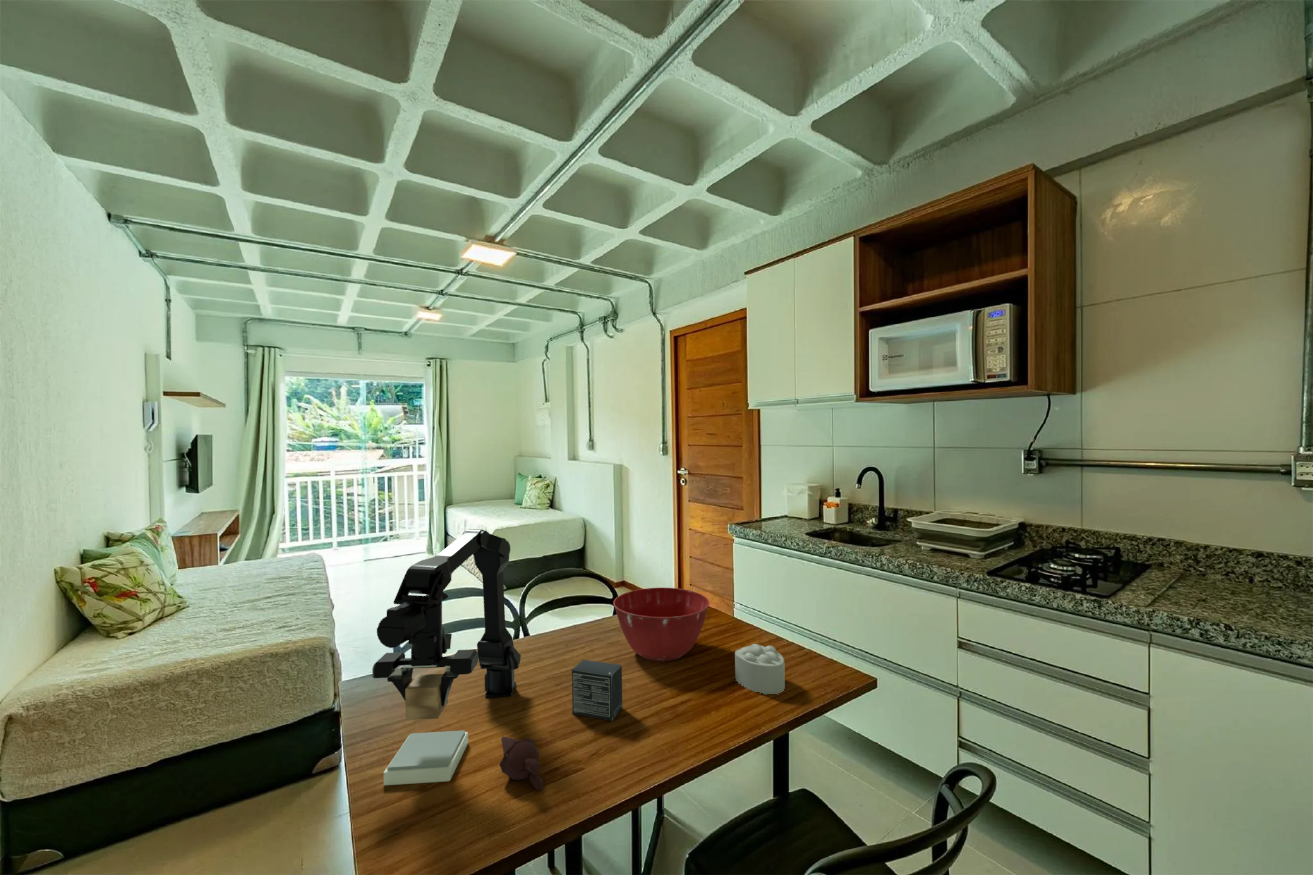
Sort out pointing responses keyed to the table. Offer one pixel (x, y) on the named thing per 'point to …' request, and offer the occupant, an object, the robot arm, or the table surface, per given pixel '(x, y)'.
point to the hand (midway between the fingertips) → (427, 706)
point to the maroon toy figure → (521, 760)
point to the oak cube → (424, 697)
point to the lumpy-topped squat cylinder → (760, 669)
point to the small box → (597, 689)
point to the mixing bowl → (661, 621)
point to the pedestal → (427, 758)
